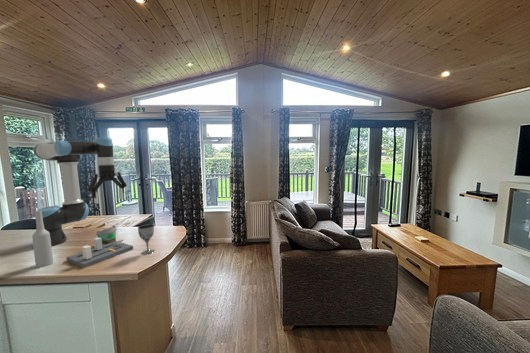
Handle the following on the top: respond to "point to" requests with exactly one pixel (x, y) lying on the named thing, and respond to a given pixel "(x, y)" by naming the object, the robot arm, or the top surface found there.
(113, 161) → the robot arm
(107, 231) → the food container
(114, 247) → the console
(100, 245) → the fader
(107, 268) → the top surface
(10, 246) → the top surface
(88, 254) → the fader
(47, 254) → the bottle
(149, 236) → the wine glass
